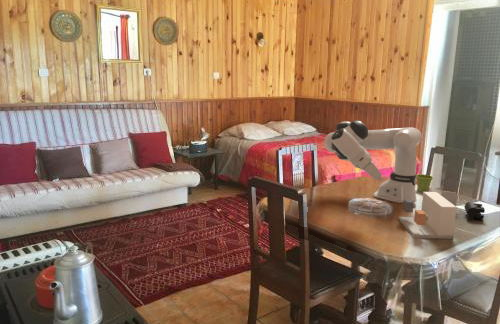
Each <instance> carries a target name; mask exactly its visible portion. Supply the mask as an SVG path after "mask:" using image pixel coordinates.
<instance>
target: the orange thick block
mask: <svg viewBox="0 0 500 324" xmlns="http://www.w3.org/2000/svg"><path fill="white" fill-rule="evenodd" d="M413 217H414V222H415V223H416V224H417V225H425V221H428V215H426V213H425V212H424V211H423V210H422V209H415V210H414V216H413Z"/></svg>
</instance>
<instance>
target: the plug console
mask: <svg viewBox="0 0 500 324" xmlns="http://www.w3.org/2000/svg"><path fill="white" fill-rule="evenodd" d="M441 195H442V194H440V193H438V192H436V191H426V192H423V191H422V202H421V210H423V211H424V212H425V213H426V215H428V221H425V225H417V224H416V223H415V222H414V216H399V217H398V221H399V222H400V223H401V224H402V225H403V227H404V228H405V229H406V230H407V231H408V232H409V234H410V235H411V236H412V237H413V239H436V240H437V239H440V240H453V239H454V233H455V226H456V225H455V224H456V217H457V210H458V207H457V205H456V206H454V205H453V204H452V203H450V202H449V201H448V200H446V199H445V198H444V197H442V196H441Z"/></svg>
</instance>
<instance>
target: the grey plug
mask: <svg viewBox="0 0 500 324" xmlns="http://www.w3.org/2000/svg"><path fill="white" fill-rule="evenodd" d="M416 207H417V206H416V203H415V201H412V200H411V199H404V201H403V202H402V210H403V211H404V212H405V213H410V214H413V212H414V209H416Z"/></svg>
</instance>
